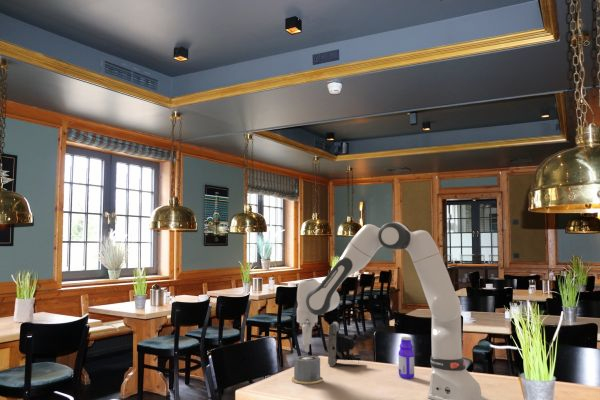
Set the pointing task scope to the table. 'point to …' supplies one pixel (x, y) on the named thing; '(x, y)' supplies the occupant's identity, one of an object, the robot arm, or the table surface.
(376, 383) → the table surface
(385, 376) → the table surface
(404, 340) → the bottle
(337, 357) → the vintage camera
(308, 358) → the camera lens
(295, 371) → the lens barrel
